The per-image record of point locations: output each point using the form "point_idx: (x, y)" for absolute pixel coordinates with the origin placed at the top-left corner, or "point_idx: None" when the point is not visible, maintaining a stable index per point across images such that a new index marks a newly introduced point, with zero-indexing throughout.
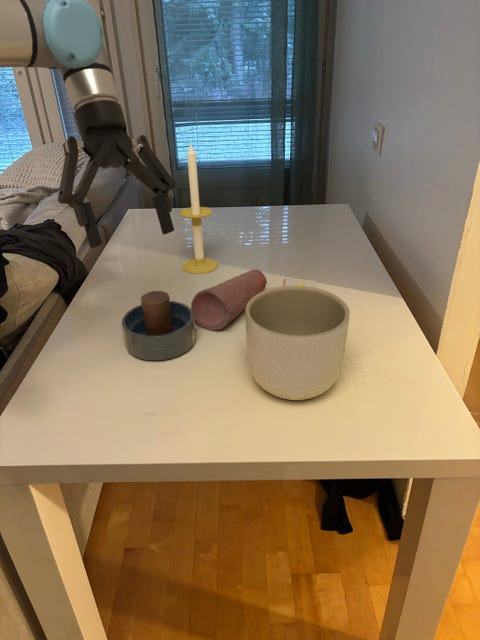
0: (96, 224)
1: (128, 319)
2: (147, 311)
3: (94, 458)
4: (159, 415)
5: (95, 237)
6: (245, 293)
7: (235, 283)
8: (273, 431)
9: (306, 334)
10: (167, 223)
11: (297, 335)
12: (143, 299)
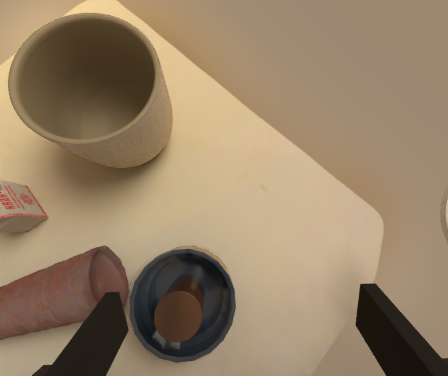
0: (402, 338)
1: (212, 340)
2: (201, 301)
3: (325, 173)
4: (258, 180)
5: (389, 301)
6: (35, 275)
7: (28, 297)
8: (196, 100)
9: (71, 137)
10: (106, 319)
11: (139, 35)
12: (196, 323)
